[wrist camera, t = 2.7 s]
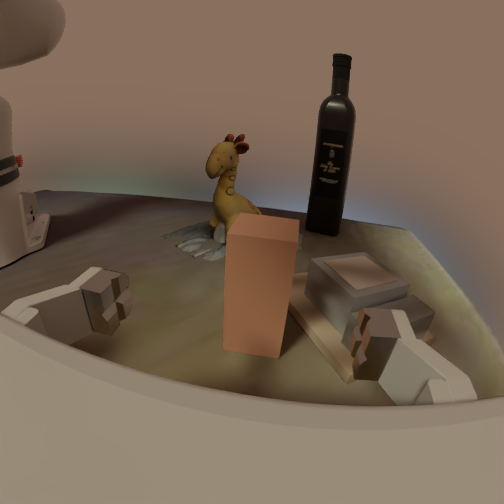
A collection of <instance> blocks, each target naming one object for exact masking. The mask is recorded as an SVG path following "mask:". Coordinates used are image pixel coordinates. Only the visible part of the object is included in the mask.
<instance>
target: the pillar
mask: <svg viewBox="0 0 504 504" xmlns="http://www.w3.org/2000/svg"><path fill="white" fill-rule="evenodd" d="M298 236H299V220H296V219H289V218H281V217H273V216H265V215H257V214H249V213H240V215H239V216H238V217H237V219H236V220H235V222H234V223H233V225H232V226H231V228H230V229H229V231H228V232H227V237H226V264H225V295H224V338H223V350H227V351H233V352H239V353H244V354H250V355H257V356H263V357H270V358H276V359H279V355H280V350H281V344H282V339H283V333H284V328H285V322H286V316H287V310H288V305H289V299H290V292H291V286H292V280H293V274H294V267H295V260H296V254H297V247H298Z"/></svg>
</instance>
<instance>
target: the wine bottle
mask: <svg viewBox="0 0 504 504" xmlns="http://www.w3.org/2000/svg"><path fill="white" fill-rule="evenodd" d="M351 60H352V57H351V56H349V55H346V54H334V55H333V78H332V90H331V95H330V96H329V97H327V98H326V99H325V100H324V101H323V102H322V104H321V106H320V110H319V116H318V126H317V137H316V145H315V155H314V164H313V172H312V180H311V188H310V196H309V204H308V211H307V218H306V225H305V227H306V229H307V230H309V231H313V232H317V233H322V234H327V235H332V236H334V235H337V234H338V232H339V229H340V225H341V219H342V213H343V208H344V201H345V195H346V189H347V182H348V175H349V169H350V161H351V154H352V146H353V137H354V129H355V120H356V114H355V108H354V105H353V104H352V102H351V100H350V99H349V97H348V92H349V79H350V69H351Z"/></svg>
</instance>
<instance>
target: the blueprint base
mask: <svg viewBox="0 0 504 504" xmlns="http://www.w3.org/2000/svg"><path fill="white" fill-rule="evenodd" d="M409 286H410V284H409V283H408V282H406V281H405V280H404V279H402V278H401V277H400V276H398V275H397V274H395V273H394V272H393V271H391V270H390V269H388V268H387V267H386V266H384V265H383V264H381V263H380V262H379V261H377V260H376V259H374V258H373V257H371V256H370V255H369V254H367V253H366V252H360V253H352V254H344V255H336V256H327V257H319V258H311V259H310V263H309V268H308V272H304V273H297V274H293V280H292V286H291V292H290V299H289V305H288V310H289V312H290V313H291V314H292V315H293V317H294V318H295V319H296V321H297V322H298V323H299V324H300V326H301V327H302V328H303V329H304V331H305V332H306V333H307V335H308V336H309V337H310V338H311V340H312V341H313V342H314V344H315V345H316V346H317V347H318V349H319V350H320V351H321V352H322V354H323V355H324V356H325V358H326V359H327V360H328V361H329V363H330V364H331V365H332V366H333V368H334V369H335V370H336V372H337V373H338V374H339V375H340V377H341V378H342V379H343V380H344V382H345V383H346V384H348V383H350V382H353V381H355V380H357V379H354V376H353V368H352V364H353V361H354V358H353V357H352V356H351V352H350V343H351V336H352V333H353V329H354V328H355V327H356V326H357V325H358V320H357V316H358V313H359V311H360V309H361V307H362V308H377V309H396V310H403V311H405V313H406V316H407V318H408V320H409V322H410V325H411V327H412V329H413V332H414V334H415V337H416V339H420V340H422V341H423V342H424V343H426V344H427V345H428V346H430V345H432V343H433V341H434V339H435V336H434V335H433V334H432V333H431V332H429V331H428V327H429V325H430V323H431V321H432V319H433V316H434V314H435V311H433V310H432V309H431V308H429V307H428V306H427V305H426V304H424V303H423V302H422V301H421V300H419V299H418V298H417V297H415V296H414V295H412V296H409V297H406V294H407V292H408V289H409ZM405 297H406V298H405Z"/></svg>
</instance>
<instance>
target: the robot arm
mask: <svg viewBox="0 0 504 504" xmlns="http://www.w3.org/2000/svg"><path fill="white" fill-rule="evenodd" d="M64 28H65V13H64V10H63V7H62V6H61V4H60V3H59V2H58V1H57V0H0V69H5V68H9V67H14V66H18V65H22V64H25V63H28V62H31V61H33V60H36V59H39V58H41V57H44V56H47V55H48V54H49V53H50V52H51V51H52V50H53V49H54V48H55V47H56V45H57V44H58V42H59V41H60V39H61V37H62V34H63V31H64ZM21 159H22V158H21V155H19V156H16V157H15V156H14V155H13V151H12V110H11V107H10V105H9V103H8V102H7V101H6V100H5V99H4V98H3V97H0V267H3V266H5V265H7V264H9V263H11V262H13V261H15V260H17V259H19V258H20V257H22V256H24V255H26V254H28V253H31V252H33V251H36V250H38V249H41V248H42V247H44V245H45V240H46V236H47V232H48V228H49V224H50V220H51V219H50V215H49V214H39V213H38V207H37V201H36V196H35V194H34V192H32V191H31V190H30V189H29V188H28V187H27V186H26V185H25V184H24V183H23V182H22V181H21V180H20V179H19V175H20V174H19V170H18V167H21V166H22V163H23V162H22V161H23V160H21ZM129 285H130V283H129V278H128V276H127V274H126V273H122V272H117V271H113V270H108V269H103V268H98V267H91V268H90V269H88V270H87V271H86V272H84V273H83V274H82V275H81V276H79V277H78V278H77V279H76V280H74V281H73V282H72V283H71V284H69V285H63V286H60V287H56V288H53V289H50V290H46V291H43V292H40V293H37V294H34V295H30V296H27V297H24V298H21V299H18V300H16V301H14V302H13V303H12V304H11V305H9V306H8V307H7V308H6V309H5V310H3V311H2V312H1V313H0V504H504V396H500V397H494V398H488V399H481V400H478V397H477V395H476V393H475V390H474V388H473V386H472V383H471V381H470V379H469V377H468V376H467V375H466V374H465V373H463V372H462V371H461V370H459V369H458V368H457V367H456V366H454V365H453V364H452V363H450V362H449V361H448V360H447V359H445V358H444V357H443V356H441V355H440V354H439V353H438V352H436V351H435V350H434V349H432V348H431V347H430V346H428V345H427V344H426V343H424V342H423V341H422V340H420V339H416V337H415V334H414V332H413V329H412V327H411V325H410V322H409V320H408V318H407V316H406V313H405V311H403V310H396V309H377V308H362V307H361V309H360V311H359V313H358V316H357V320H358V325H357V326H356V327H355V328H354V329H353V333H352V336H351V343H350V352H351V356H352V357H353V358H354V361H353V364H352V368H353V376H354V379H357V380H370V381H378V383H379V384H380V385H381V387H382V388H383V389H384V390H385V392H386V393H387V394H388V395H389V397H390V398H391V399H392V400H393V402H394V403H395V404H396V405H397V406H348V405H330V404H317V403H306V402H296V401H287V400H279V399H272V398H265V397H258V396H251V395H245V394H240V393H234V392H229V391H223V390H218V389H213V388H208V387H204V386H199V385H195V384H190V383H186V382H182V381H178V380H174V379H170V378H166V377H162V376H158V375H155V374H151V373H148V372H144V371H141V370H137V369H134V368H131V367H128V366H125V365H121V364H118V363H115V362H112V361H109V360H106V359H104V358H101V357H98V356H95V355H92V354H90V353H87V352H84V351H82V350H79V349H77V348H74V347H71V346H69V345H70V344H72V343H74V342H76V341H78V340H79V339H81V338H83V337H85V336H87V335H89V334H91V333H92V332H93V331H94V332H97V333H101V334H104V335H108V336H112V335H113V334H114V332H115V331H116V330H117V329H118V328H119V326H120V321H121V320H124V319H126V318H127V317H128V315H129V314H130V311H131V309H132V295H131V293H130V292H129V291H128V289H127V288H128V286H129Z"/></svg>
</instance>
